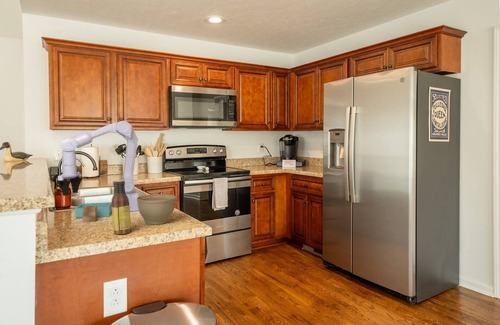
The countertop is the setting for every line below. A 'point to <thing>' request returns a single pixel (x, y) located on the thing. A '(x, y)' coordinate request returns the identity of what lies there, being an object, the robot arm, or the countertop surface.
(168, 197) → the planter bowl
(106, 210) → the teal bin
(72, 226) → the countertop surface
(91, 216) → the walnut block
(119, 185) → the sauce bottle
